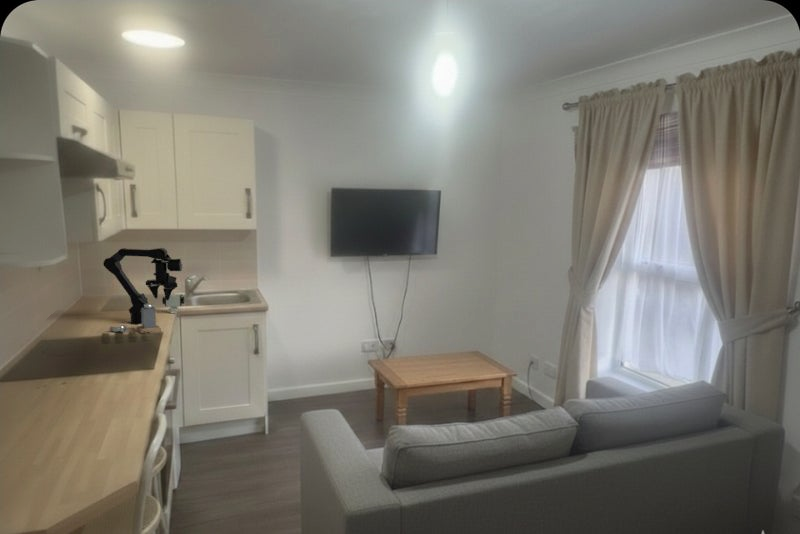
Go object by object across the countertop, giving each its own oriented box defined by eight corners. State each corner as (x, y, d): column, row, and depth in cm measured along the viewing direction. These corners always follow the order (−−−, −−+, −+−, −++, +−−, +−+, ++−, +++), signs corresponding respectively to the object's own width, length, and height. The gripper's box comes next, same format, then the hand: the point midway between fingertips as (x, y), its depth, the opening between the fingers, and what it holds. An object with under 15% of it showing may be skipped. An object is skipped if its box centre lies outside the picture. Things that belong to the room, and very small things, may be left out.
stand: (136, 330, 263) (136, 326, 263) (155, 328, 269) (155, 324, 269) (141, 333, 256) (141, 330, 256) (160, 331, 262) (160, 327, 262)
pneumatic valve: (183, 313, 305) (183, 293, 303) (162, 314, 301) (162, 294, 300) (185, 311, 310) (184, 292, 308) (164, 312, 307) (163, 292, 305)
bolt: (108, 332, 257) (108, 325, 257) (113, 330, 261) (113, 323, 260) (121, 333, 256) (121, 326, 256) (126, 331, 260) (126, 324, 259)
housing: (141, 326, 262) (141, 304, 261) (153, 325, 266) (152, 302, 264) (144, 328, 259) (143, 305, 257) (155, 327, 262) (155, 304, 261)
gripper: (185, 271, 281) (185, 299, 283) (162, 268, 289) (163, 295, 291) (167, 273, 271) (168, 302, 273) (144, 270, 279) (145, 298, 281)
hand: (161, 299), depth 280 cm, fingers open, 9 cm apart
